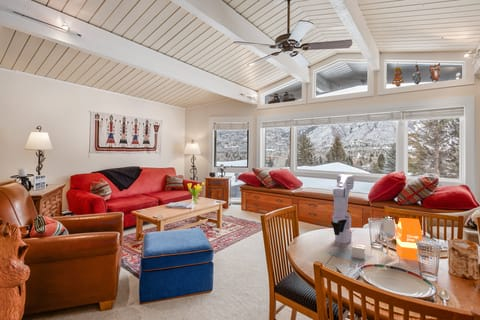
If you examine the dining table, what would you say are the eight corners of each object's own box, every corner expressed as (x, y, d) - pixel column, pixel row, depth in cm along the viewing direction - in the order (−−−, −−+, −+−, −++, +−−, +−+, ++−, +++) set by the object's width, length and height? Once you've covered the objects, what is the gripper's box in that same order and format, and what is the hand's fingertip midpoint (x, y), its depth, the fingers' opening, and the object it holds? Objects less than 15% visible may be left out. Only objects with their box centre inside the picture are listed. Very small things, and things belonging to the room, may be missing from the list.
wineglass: (393, 254, 127) (394, 217, 126) (398, 260, 119) (399, 220, 119) (377, 252, 129) (378, 215, 129) (380, 258, 122) (381, 219, 122)
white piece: (352, 253, 125) (352, 243, 125) (364, 255, 123) (364, 245, 122) (352, 256, 120) (352, 246, 120) (364, 259, 118) (364, 248, 118)
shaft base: (344, 248, 134) (344, 241, 134) (373, 259, 121) (373, 250, 121) (326, 254, 125) (326, 246, 125) (354, 266, 112) (355, 258, 112)
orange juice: (421, 260, 119) (422, 221, 119) (401, 258, 122) (402, 219, 121) (415, 254, 127) (415, 217, 126) (396, 252, 129) (396, 215, 129)
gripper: (335, 206, 141) (335, 229, 141) (327, 209, 129) (327, 234, 129) (348, 208, 136) (348, 231, 136) (341, 211, 125) (340, 237, 125)
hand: (338, 233), depth 132 cm, fingers open, 7 cm apart
